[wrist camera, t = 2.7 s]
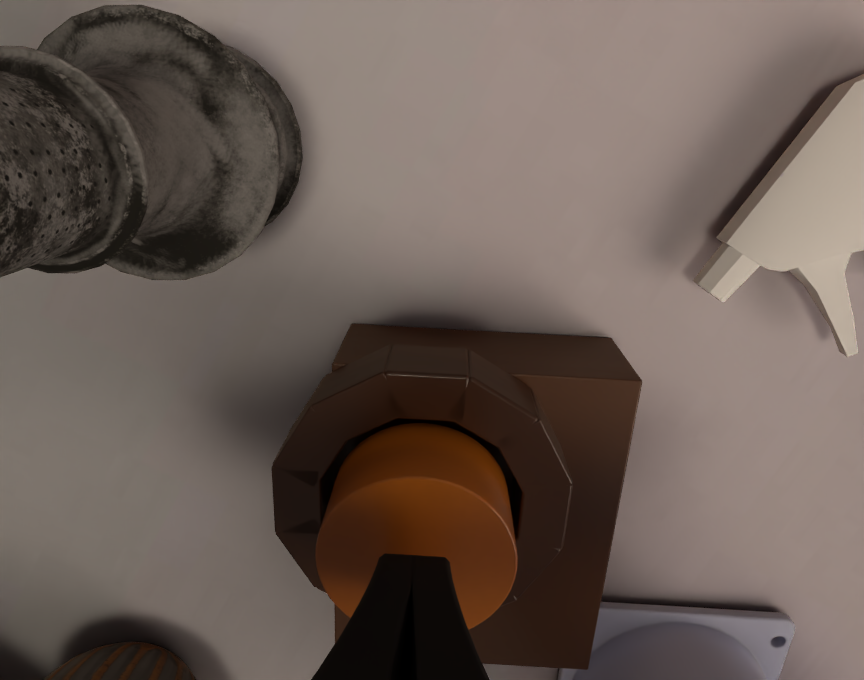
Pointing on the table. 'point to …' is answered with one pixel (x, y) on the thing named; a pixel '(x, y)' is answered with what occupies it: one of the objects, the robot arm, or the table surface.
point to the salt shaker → (139, 148)
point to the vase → (124, 664)
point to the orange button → (420, 516)
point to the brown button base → (506, 441)
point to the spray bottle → (805, 215)
